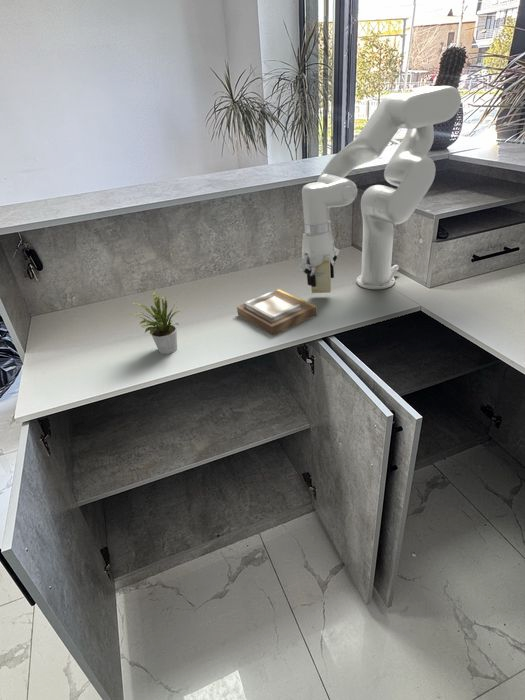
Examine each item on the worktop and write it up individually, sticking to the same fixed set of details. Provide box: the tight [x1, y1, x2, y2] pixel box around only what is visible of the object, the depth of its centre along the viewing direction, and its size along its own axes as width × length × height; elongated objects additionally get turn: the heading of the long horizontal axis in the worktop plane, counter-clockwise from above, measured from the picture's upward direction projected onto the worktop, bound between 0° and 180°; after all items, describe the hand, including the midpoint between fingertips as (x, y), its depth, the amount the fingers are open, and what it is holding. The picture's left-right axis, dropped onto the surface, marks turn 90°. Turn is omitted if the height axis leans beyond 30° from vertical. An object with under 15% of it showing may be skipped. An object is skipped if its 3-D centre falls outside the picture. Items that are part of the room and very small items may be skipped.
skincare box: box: [310, 254, 332, 294], centre depth 138 cm, size 6×4×12 cm
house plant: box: [131, 291, 181, 355], centre depth 120 cm, size 14×14×16 cm
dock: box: [236, 288, 318, 337], centre depth 134 cm, size 17×18×4 cm
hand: (320, 280), depth 139 cm, fingers closed on skincare box, 7 cm apart
